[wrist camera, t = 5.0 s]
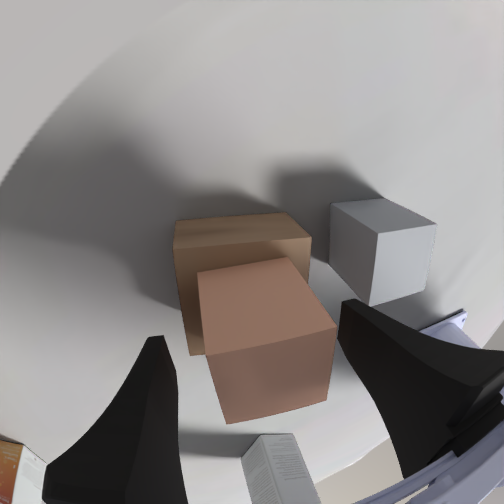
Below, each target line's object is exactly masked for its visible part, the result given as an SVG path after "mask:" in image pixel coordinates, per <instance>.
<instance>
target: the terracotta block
mask: <svg viewBox="0 0 504 504" xmlns="http://www.w3.org/2000/svg"><path fill="white" fill-rule="evenodd" d="M197 277H198V289H199V299H200V309H201V319H202V328H203V336H204V345H205V353H206V358H207V362H208V365H209V369H210V372H211V376H212V379H213V382H214V386H215V389H216V393H217V396H218V399H219V402H220V406H221V409H222V412H223V415H224V418H225V421H226V424H232V423H238V422H243V421H248V420H253V419H258V418H262V417H267V416H271V415H275V414H279V413H283V412H287V411H291V410H295V409H299V408H302V407H306V406H309V405H313V404H316V403H319V402H322V401H326V400H327V394H328V389H329V383H330V376H331V370H332V363H333V356H334V349H335V341H336V333H337V325H336V324H335V323H334V321H333V320H332V318H331V317H330V315H329V314H328V313H327V311H326V310H325V308H324V307H323V305H322V304H321V303H320V301H319V300H318V298H317V297H316V296H315V294H314V293H313V291H312V290H311V288H310V287H309V286H308V284H307V283H306V281H305V280H304V279H303V277H302V276H301V274H300V273H299V272H298V270H297V269H296V268H295V266H294V265H293V263H292V262H291V261H290V259H289V258H288V257H283V258H278V259H272V260H267V261H261V262H255V263H250V264H244V265H238V266H232V267H227V268H221V269H215V270H209V271H203V272H197Z"/></svg>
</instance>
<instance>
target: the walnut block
mask: <svg viewBox="0 0 504 504" xmlns="http://www.w3.org/2000/svg"><path fill="white" fill-rule="evenodd" d="M311 241H312V237H311V236H310V235H309V234H308V233H307V232H306V231H305V230H304V229H303V228H302V227H301V226H300V225H298V224H297V223H296V222H295V221H294V220H293V219H292V218H291V217H290V216H289V215H288V214H287V213H286V212H282V213H266V214H251V215H237V216H224V217H211V218H199V219H188V220H177V221H176V223H175V231H174V240H173V249H172V250H173V258H174V265H175V272H176V279H177V286H178V292H179V299H180V305H181V311H182V317H183V322H184V328H185V333H186V339H187V344H188V349H189V354H190V356H194V355H204V354H206V353H205V345H204V336H203V328H202V319H201V309H200V299H199V289H198V277H197V272H203V271H209V270H215V269H221V268H227V267H232V266H238V265H244V264H250V263H255V262H261V261H267V260H272V259H278V258H283V257H288V258H289V259H290V261H291V262H292V263H293V265H294V266H295V268H296V269H297V270H298V272H299V273H300V274H301V276H302V277H303V279H304V280H305V281H306V283H307V284H308V276H309V265H310V253H311Z"/></svg>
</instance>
